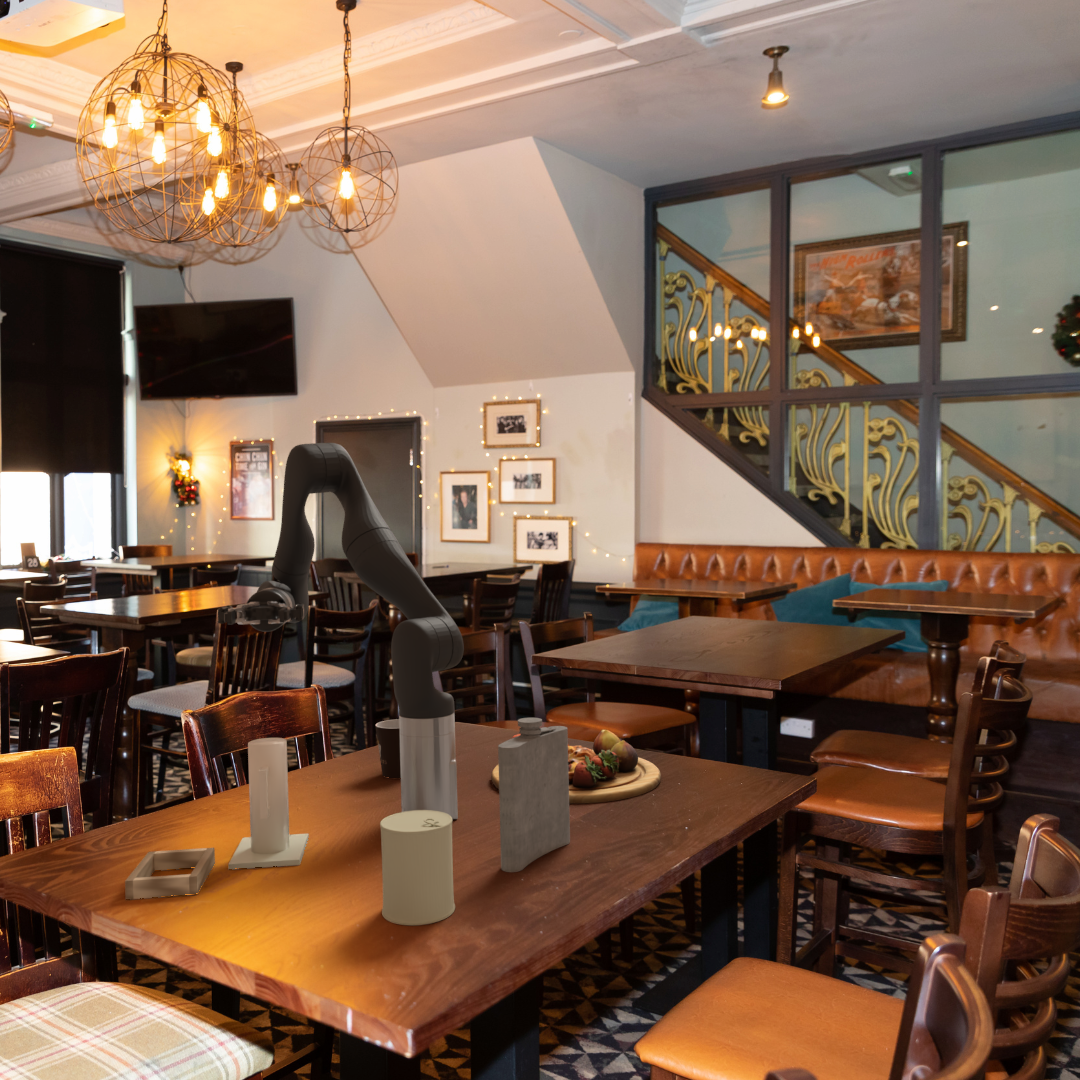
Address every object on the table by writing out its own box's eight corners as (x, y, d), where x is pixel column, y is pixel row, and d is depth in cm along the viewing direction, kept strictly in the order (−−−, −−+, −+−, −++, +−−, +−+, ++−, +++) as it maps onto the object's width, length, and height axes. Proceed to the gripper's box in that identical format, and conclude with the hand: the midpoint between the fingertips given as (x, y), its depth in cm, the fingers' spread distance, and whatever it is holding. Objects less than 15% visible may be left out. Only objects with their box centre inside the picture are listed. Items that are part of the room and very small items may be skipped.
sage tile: (308, 838, 154) (308, 833, 154) (299, 865, 142) (299, 859, 142) (243, 842, 152) (242, 837, 152) (228, 869, 140) (228, 864, 140)
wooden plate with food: (457, 781, 187) (456, 738, 186) (578, 751, 208) (577, 712, 207) (572, 821, 163) (571, 772, 162) (695, 782, 184) (695, 738, 183)
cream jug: (291, 840, 150) (288, 736, 150) (284, 858, 142) (281, 748, 142) (254, 842, 150) (251, 738, 149) (245, 860, 142) (242, 750, 141)
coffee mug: (412, 781, 186) (411, 728, 186) (370, 779, 188) (368, 727, 188) (431, 765, 198) (430, 716, 198) (391, 764, 200) (389, 715, 199)
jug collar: (214, 864, 143) (214, 847, 143) (197, 894, 131) (196, 876, 131) (149, 868, 141) (148, 851, 141) (125, 899, 130) (125, 881, 130)
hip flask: (515, 873, 136) (511, 730, 136) (491, 868, 138) (488, 728, 138) (573, 840, 150) (570, 710, 149) (551, 836, 152) (548, 708, 151)
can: (424, 931, 118) (421, 832, 117) (366, 916, 123) (364, 821, 122) (469, 905, 125) (467, 812, 125) (413, 892, 130) (411, 802, 130)
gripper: (229, 589, 179) (211, 596, 163) (308, 587, 181) (298, 593, 165) (230, 630, 179) (212, 641, 163) (309, 627, 181) (299, 638, 165)
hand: (255, 617), depth 164 cm, fingers open, 8 cm apart
